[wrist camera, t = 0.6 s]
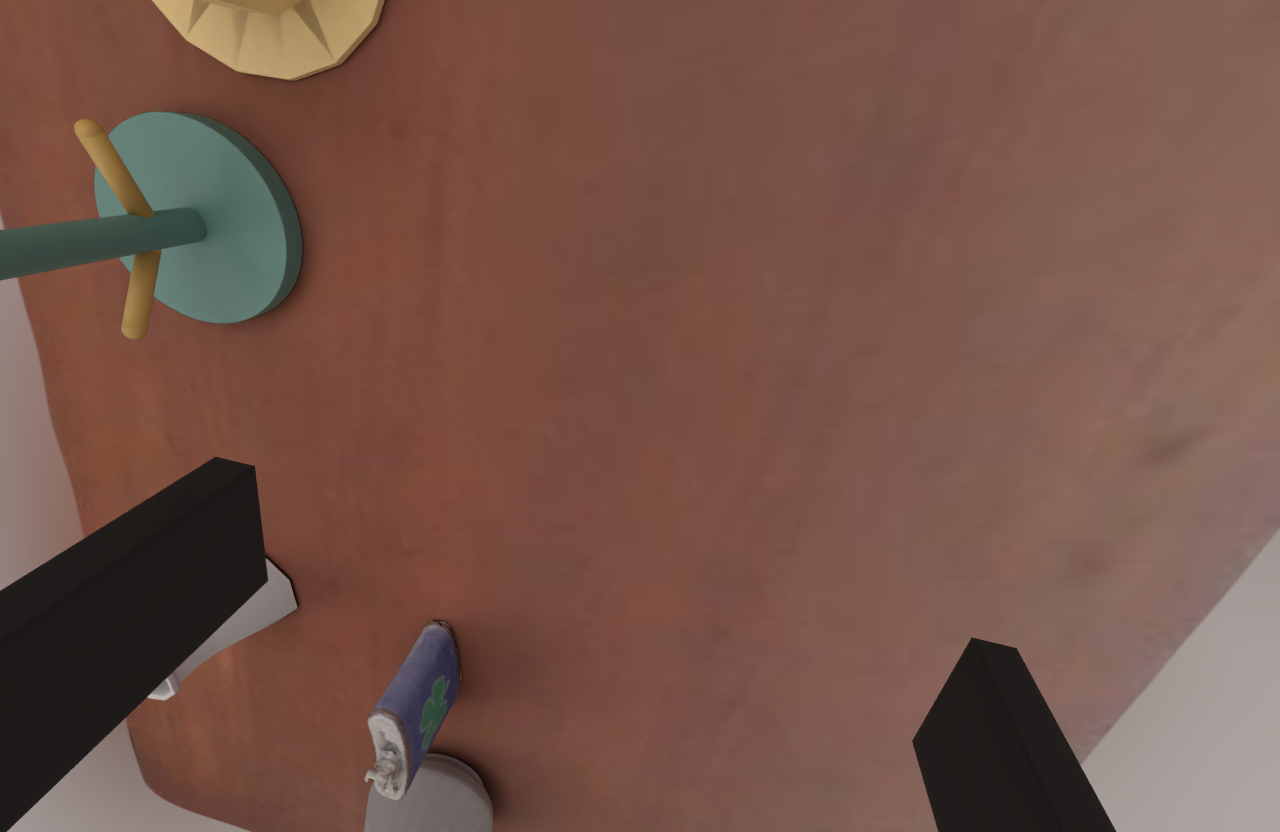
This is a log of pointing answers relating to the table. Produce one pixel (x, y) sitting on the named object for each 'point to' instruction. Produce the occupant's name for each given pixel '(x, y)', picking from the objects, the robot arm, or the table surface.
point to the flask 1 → (237, 627)
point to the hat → (275, 32)
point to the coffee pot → (434, 801)
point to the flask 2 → (414, 709)
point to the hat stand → (175, 221)
